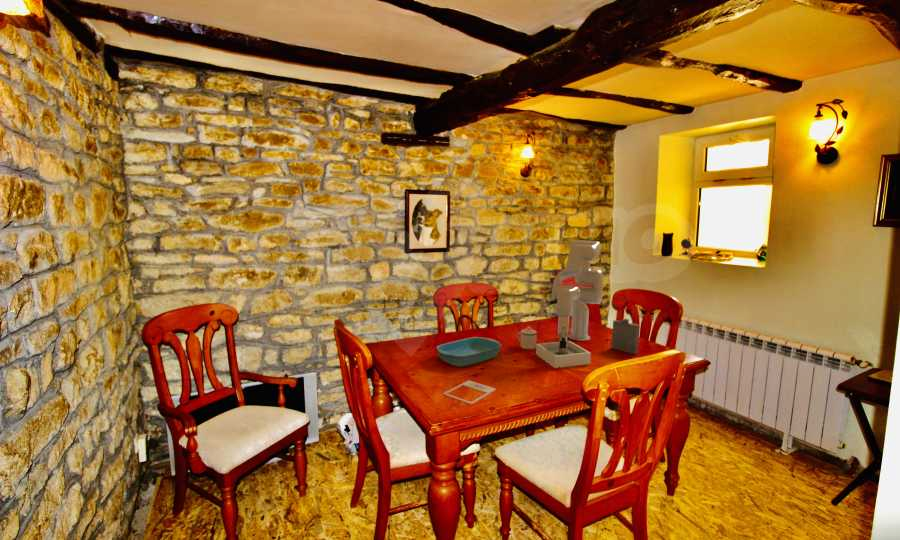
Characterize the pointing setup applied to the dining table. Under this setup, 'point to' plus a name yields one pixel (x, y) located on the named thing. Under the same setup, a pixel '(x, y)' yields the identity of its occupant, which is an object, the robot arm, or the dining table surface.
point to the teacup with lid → (528, 338)
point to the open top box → (557, 359)
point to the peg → (562, 350)
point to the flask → (625, 336)
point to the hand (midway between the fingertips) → (562, 346)
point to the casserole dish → (468, 351)
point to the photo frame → (473, 386)
